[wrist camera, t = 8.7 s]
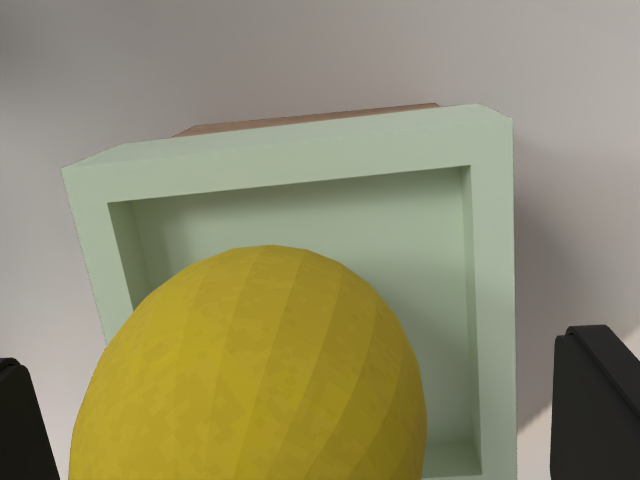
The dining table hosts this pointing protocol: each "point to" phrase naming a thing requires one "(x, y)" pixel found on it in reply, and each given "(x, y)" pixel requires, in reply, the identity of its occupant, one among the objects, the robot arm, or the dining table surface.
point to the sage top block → (340, 241)
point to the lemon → (255, 379)
